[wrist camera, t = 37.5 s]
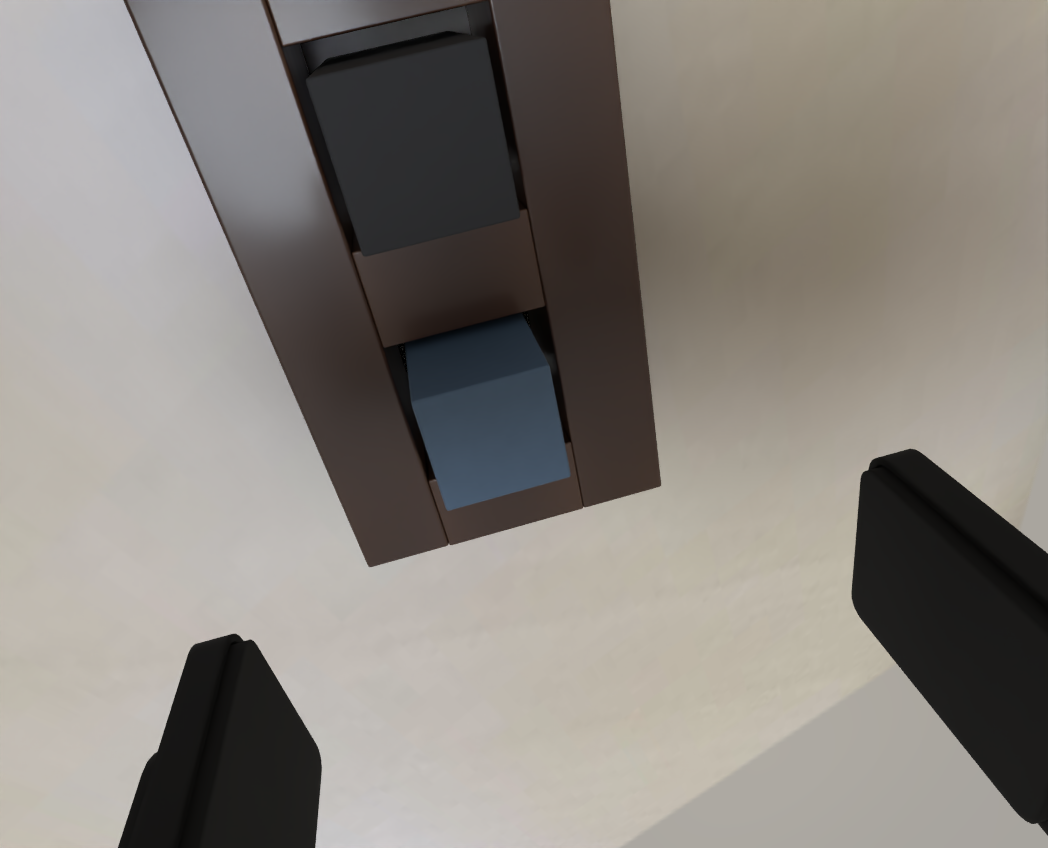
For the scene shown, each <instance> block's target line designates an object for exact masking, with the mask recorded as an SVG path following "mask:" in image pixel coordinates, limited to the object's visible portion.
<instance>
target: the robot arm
mask: <svg viewBox="0 0 1048 848" xmlns="http://www.w3.org/2000/svg"><path fill="white" fill-rule="evenodd" d="M852 601H853V604H854V607H855V610H856V611H857V613H858V615H859V617H860V618H861V619H862V621H863V622H864V623H865V624H866V626H867V627H868V628H869V629H870V631H871V632H872V633H873V634H874V636H875V637H876V638H877V639H878V641H879V642H880V643H881V644H882V646H883V647H884V648H885V649H886V651H887V652H888V653H889V654H890V656H891V657H892V658H893V659H894V661H895V662H896V663H897V664H898V666H899V667H900V668H901V669H902V671H903V672H904V673H905V674H906V675H907V677H908V678H909V679H910V681H911V682H912V683H913V684H914V686H915V687H916V688H917V689H918V690H919V692H920V693H921V694H922V695H923V697H924V698H925V699H926V700H927V702H928V703H929V704H930V705H931V707H932V708H933V709H934V710H935V712H936V713H937V714H938V715H939V717H940V718H941V719H942V720H943V722H944V723H945V724H946V725H947V727H948V728H949V729H950V730H951V732H952V733H953V734H954V735H955V737H956V738H957V739H958V740H959V742H960V743H961V744H962V745H963V747H964V748H965V749H966V750H967V751H968V753H969V754H970V755H971V757H972V758H973V759H974V760H975V761H976V763H977V764H978V765H979V767H980V768H981V769H982V770H983V772H984V773H985V774H986V775H987V776H988V778H989V779H990V780H991V782H992V783H993V784H994V785H995V787H996V788H997V789H998V790H999V792H1000V793H1001V794H1002V795H1003V796H1004V798H1005V799H1006V800H1007V801H1008V803H1009V804H1010V805H1011V807H1012V808H1013V809H1014V810H1015V811H1016V812H1017V813H1018V815H1019V816H1021V817H1022V818H1023V819H1024V820H1025V821H1027V822H1029V823H1031V824H1036V823H1038V824H1039V825H1040V827H1041V828H1042V829H1043V830H1044V831H1045V833H1046V834H1047V835H1048V554H1047V553H1046V552H1045V551H1044V550H1043V549H1041V548H1040V547H1039V546H1037V545H1036V544H1035V543H1034V542H1033V541H1031V540H1030V539H1029V538H1028V537H1026V536H1025V535H1023V534H1022V533H1021V532H1020V531H1019V530H1018V529H1016V528H1015V527H1014V526H1013V525H1011V524H1010V523H1009V522H1007V521H1006V520H1005V519H1004V518H1002V517H1001V516H1000V515H999V514H997V513H996V512H995V511H994V510H992V509H991V508H990V507H989V506H987V505H986V504H985V503H984V502H982V501H981V500H980V499H979V498H977V497H976V496H975V495H974V494H972V493H971V492H970V491H969V490H967V489H966V488H965V487H964V486H962V485H961V484H960V483H959V482H957V481H956V480H955V479H954V478H952V477H951V476H950V475H949V474H947V473H946V472H945V471H944V470H942V469H941V468H940V467H938V466H937V465H936V464H935V463H933V462H932V461H931V460H930V459H928V458H927V457H926V456H925V455H923V454H922V453H921V452H919V451H917V450H915V449H908V450H904V451H900V452H897V453H893V454H889V455H886V456H882V457H878V458H876V459H873V460H872V462H871V463H870V466H869V470H868V471H865V472H863V474H862V476H861V482H860V494H859V507H858V519H857V532H856V544H855V557H854V569H853V582H852ZM321 772H322V765H321V757H320V753H319V749H318V747H317V745H316V743H315V741H314V740H313V738H312V736H311V735H310V733H309V731H308V730H307V728H306V726H305V725H304V723H303V721H302V720H301V718H300V716H299V715H298V713H297V711H296V710H295V708H294V706H293V705H292V703H291V701H290V700H289V698H288V696H287V695H286V693H285V691H284V690H283V688H282V686H281V685H280V683H279V681H278V680H277V678H276V676H275V675H274V673H273V671H272V670H271V668H270V666H269V665H268V663H267V661H266V660H265V658H264V656H263V655H262V653H261V651H260V650H259V648H258V646H257V645H256V643H255V642H254V641H252V640H247V641H243V640H242V638H241V637H240V636H239V635H237V634H231V635H227V636H223V637H220V638H216V639H212V640H209V641H205V642H201V643H198V644H195V645H194V646H193V647H192V648H191V649H190V651H189V654H188V656H187V660H186V663H185V666H184V669H183V672H182V676H181V679H180V682H179V685H178V688H177V692H176V695H175V698H174V701H173V704H172V707H171V711H170V714H169V717H168V720H167V723H166V727H165V730H164V733H163V736H162V739H161V743H160V746H159V749H158V752H157V753H155V754H154V755H153V756H152V757H151V758H150V759H149V760H148V762H147V764H146V766H145V768H144V770H143V773H142V775H141V778H140V781H139V785H138V788H137V791H136V794H135V797H134V800H133V803H132V806H131V809H130V812H129V815H128V818H127V821H126V824H125V828H124V831H123V834H122V837H121V840H120V843H119V846H118V848H315V843H316V831H317V819H318V808H319V796H320V784H321Z"/></svg>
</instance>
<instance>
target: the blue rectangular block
mask: <svg viewBox="0 0 1048 848" xmlns="http://www.w3.org/2000/svg"><path fill="white" fill-rule="evenodd" d="M405 352H406V361H407V370H408V379H409V388H410V397H411V405H412V408H413V411H414V414H415V417H416V420H417V423H418V426H419V429H420V432H421V435H422V438H423V441H424V444H425V447H426V450H427V453H428V456H429V459H430V462H431V465H432V468H433V471H434V474H435V477H436V480H437V483H438V486H439V490H440V493H441V496H442V499H443V502H444V505H445V508H446V509H447V511H450V510H453V509H457V508H460V507H464V506H468V505H471V504H475V503H478V502H482V501H485V500H489V499H493V498H496V497H500V496H503V495H507V494H511V493H514V492H518V491H521V490H525V489H529V488H532V487H536V486H539V485H543V484H546V483H550V482H554V481H557V480H561V479H564V478H568V477H570V475H571V473H570V468H569V462H568V457H567V452H566V447H565V442H564V437H563V432H562V427H561V421H560V416H559V411H558V406H557V401H556V396H555V391H554V386H553V381H552V375H551V370H550V366H549V364H548V362H547V360H546V358H545V356H544V355H543V353H542V351H541V349H540V347H539V345H538V343H537V341H536V339H535V337H534V335H533V333H532V332H531V330H530V328H529V326H528V324H527V322H526V320H525V318H524V316H523V314H522V312H521V313H517V314H513V315H509V316H505V317H502V318H498V319H494V320H490V321H486V322H482V323H479V324H475V325H471V326H467V327H463V328H459V329H456V330H452V331H448V332H444V333H440V334H436V335H432V336H429V337H425V338H421V339H417V340H413V341H409V342H406V343H405Z"/></svg>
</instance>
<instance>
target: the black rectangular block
mask: <svg viewBox="0 0 1048 848" xmlns="http://www.w3.org/2000/svg"><path fill="white" fill-rule="evenodd" d="M306 85H307V88H308V91H309V94H310V97H311V100H312V103H313V106H314V109H315V112H316V115H317V118H318V121H319V124H320V127H321V130H322V133H323V136H324V139H325V142H326V146H327V149H328V152H329V155H330V158H331V161H332V164H333V167H334V170H335V173H336V176H337V179H338V182H339V185H340V188H341V191H342V194H343V197H344V200H345V203H346V207H347V210H348V213H349V216H350V219H351V222H352V225H353V228H354V231H355V234H356V237H357V240H358V243H359V246H360V249H361V252H362V255H363V256H365V257H367V256H371V255H375V254H379V253H383V252H387V251H391V250H395V249H399V248H403V247H407V246H411V245H415V244H419V243H423V242H427V241H431V240H435V239H439V238H443V237H447V236H451V235H455V234H459V233H463V232H467V231H471V230H475V229H479V228H483V227H487V226H491V225H495V224H499V223H503V222H507V221H511V220H515V219H518V218H520V210H519V205H518V200H517V195H516V190H515V184H514V179H513V174H512V169H511V164H510V159H509V153H508V148H507V143H506V138H505V133H504V128H503V122H502V117H501V112H500V107H499V102H498V97H497V91H496V86H495V81H494V76H493V71H492V66H491V60H490V55H489V50H488V45H487V40H486V38H484V37H479V36H473V35H467V34H462V33H456V32H450V31H445V32H441V33H437V34H432V35H428V36H424V37H419V38H415V39H411V40H406V41H402V42H398V43H393V44H389V45H385V46H380V47H376V48H372V49H367V50H363V51H359V52H354V53H350V54H346V55H341V56H337V57H333V58H328V59H326V60H325V61H324V62H323V63H322V64H321V65H320V66H319V67H318V68H317V69H316V70H315V71H314V72H313V73H312V74H311V75H310V76H309V77H308V78H307V79H306Z"/></svg>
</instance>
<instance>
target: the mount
mask: <svg viewBox="0 0 1048 848" xmlns="http://www.w3.org/2000/svg"><path fill="white" fill-rule="evenodd" d="M124 3H125V5H126V7H127V10H128V12H129V14H130V17H131V19H132V21H133V23H134V26H135V28H136V30H137V33H138V35H139V37H140V40H141V42H142V44H143V47H144V49H145V51H146V54H147V56H148V58H149V60H150V63H151V65H152V67H153V70H154V72H155V74H156V77H157V79H158V81H159V84H160V86H161V88H162V90H163V93H164V95H165V97H166V100H167V102H168V104H169V107H170V109H171V111H172V114H173V116H174V118H175V121H176V123H177V125H178V127H179V130H180V132H181V134H182V137H183V139H184V141H185V144H186V146H187V148H188V151H189V153H190V155H191V158H192V160H193V162H194V164H195V167H196V169H197V171H198V174H199V176H200V178H201V181H202V183H203V185H204V188H205V190H206V192H207V195H208V197H209V199H210V201H211V204H212V206H213V208H214V211H215V213H216V215H217V218H218V220H219V222H220V225H221V227H222V229H223V232H224V234H225V236H226V238H227V241H228V243H229V245H230V248H231V250H232V252H233V255H234V257H235V259H236V262H237V264H238V266H239V269H240V271H241V273H242V275H243V278H244V280H245V282H246V285H247V287H248V289H249V292H250V294H251V296H252V299H253V301H254V303H255V306H256V308H257V310H258V312H259V315H260V317H261V319H262V322H263V324H264V326H265V329H266V331H267V333H268V336H269V338H270V340H271V342H272V345H273V347H274V349H275V352H276V354H277V356H278V359H279V361H280V363H281V366H282V368H283V370H284V373H285V375H286V377H287V379H288V382H289V384H290V386H291V389H292V391H293V393H294V396H295V398H296V400H297V403H298V405H299V407H300V410H301V412H302V414H303V416H304V419H305V421H306V423H307V426H308V428H309V430H310V433H311V435H312V437H313V440H314V442H315V444H316V447H317V449H318V451H319V453H320V456H321V458H322V460H323V463H324V465H325V467H326V470H327V472H328V474H329V477H330V479H331V481H332V484H333V486H334V488H335V490H336V493H337V495H338V497H339V500H340V502H341V504H342V507H343V509H344V511H345V514H346V516H347V518H348V521H349V523H350V525H351V527H352V530H353V532H354V534H355V537H356V539H357V541H358V544H359V546H360V548H361V551H362V553H363V555H364V557H365V560H366V562H367V564H368V566H369V567H373V566H377V565H380V564H384V563H387V562H391V561H395V560H398V559H402V558H405V557H409V556H412V555H416V554H420V553H423V552H427V551H430V550H434V549H437V548H441V547H445V546H447V545H448V544H450V545H454V544H457V543H461V542H464V541H468V540H472V539H475V538H479V537H482V536H486V535H489V534H493V533H497V532H500V531H504V530H507V529H511V528H514V527H518V526H521V525H525V524H529V523H532V522H536V521H539V520H543V519H546V518H550V517H554V516H557V515H561V514H564V513H568V512H571V511H575V510H578V509H582V508H583V506H584V507H589V506H592V505H596V504H599V503H603V502H606V501H610V500H614V499H617V498H621V497H624V496H628V495H631V494H635V493H638V492H642V491H646V490H649V489H653V488H656V487H660V486H661V479H660V469H659V460H658V451H657V441H656V432H655V422H654V413H653V403H652V394H651V385H650V375H649V366H648V356H647V347H646V337H645V328H644V319H643V309H642V300H641V290H640V281H639V271H638V262H637V253H636V243H635V234H634V224H633V215H632V206H631V196H630V187H629V177H628V168H627V158H626V149H625V140H624V130H623V121H622V111H621V102H620V92H619V83H618V74H617V64H616V55H615V45H614V36H613V26H612V17H611V8H610V0H124ZM462 6H466V10H467V15H468V20H469V24H470V29H471V34H472V35H473V36H479V37H484V38H486V40H487V45H488V50H489V55H490V60H491V66H492V71H493V76H494V81H495V86H496V91H497V97H498V102H499V107H500V112H501V117H502V122H503V128H504V133H505V138H506V143H507V148H508V153H509V159H510V164H511V169H512V174H513V179H514V184H515V190H516V195H517V200H518V205H519V210H520V218H518V219H515V220H511V221H507V222H503V223H499V224H495V225H491V226H487V227H483V228H479V229H475V230H471V231H467V232H463V233H459V234H455V235H451V236H447V237H443V238H439V239H435V240H431V241H427V242H423V243H419V244H415V245H411V246H407V247H403V248H399V249H395V250H391V251H387V252H383V253H379V254H375V255H371V256H367V257H365V256H363V255H362V252H361V249H360V246H359V243H358V240H357V237H356V234H355V231H354V228H353V225H352V222H351V219H350V216H349V213H348V210H347V207H346V203H345V200H344V197H343V194H342V191H341V188H340V185H339V182H338V179H337V176H336V173H335V170H334V167H333V164H332V161H331V158H330V155H329V152H328V149H327V146H326V142H325V139H324V136H323V133H322V130H321V127H320V124H319V121H318V118H317V115H316V112H315V109H314V106H313V103H312V100H311V97H310V94H309V91H308V88H307V85H306V79H307V78H308V77H309V76H310V74H309V71H308V68H307V65H306V62H305V59H304V55H303V52H302V49H301V46H300V43H305V42H309V41H314V40H318V39H322V38H327V37H331V36H335V35H340V34H344V33H348V32H353V31H357V30H361V29H366V28H370V27H375V26H379V25H383V24H388V23H392V22H396V21H401V20H405V19H409V18H414V17H418V16H422V15H427V14H431V13H436V12H440V11H444V10H449V9H453V8H457V7H462ZM525 311H528V314H529V319H530V324H531V329H532V333H533V335H534V337H535V339H536V341H537V343H538V345H539V347H540V349H541V351H542V353H543V355H544V356H545V358H546V360H547V362H548V364H549V366H550V370H551V375H552V381H553V386H554V391H555V396H556V401H557V406H558V411H559V416H560V421H561V427H562V432H563V437H564V442H565V447H566V452H567V457H568V462H569V468H570V473H571V475H570V477H568V478H564V479H561V480H557V481H554V482H550V483H546V484H543V485H539V486H536V487H532V488H529V489H525V490H521V491H518V492H514V493H511V494H507V495H503V496H500V497H496V498H493V499H489V500H485V501H482V502H478V503H475V504H471V505H468V506H464V507H460V508H457V509H453V510H450V511H447V509H446V508H445V505H444V502H443V499H442V496H441V493H440V490H439V486H438V483H437V480H436V477H435V474H434V471H433V468H432V465H431V462H430V459H429V456H428V453H427V450H426V447H425V444H424V441H423V438H422V435H421V432H420V429H419V426H418V423H417V420H416V417H415V414H414V411H413V408H412V405H411V397H410V388H409V380H408V377H407V374H406V371H405V367H404V364H403V361H402V358H401V355H400V352H399V349H398V346H397V345H398V344H402V343H406V342H409V341H413V340H417V339H421V338H425V337H429V336H432V335H436V334H440V333H444V332H448V331H452V330H456V329H459V328H463V327H467V326H471V325H475V324H479V323H482V322H486V321H490V320H494V319H498V318H502V317H505V316H509V315H513V314H517V313H521V312H525Z"/></svg>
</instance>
